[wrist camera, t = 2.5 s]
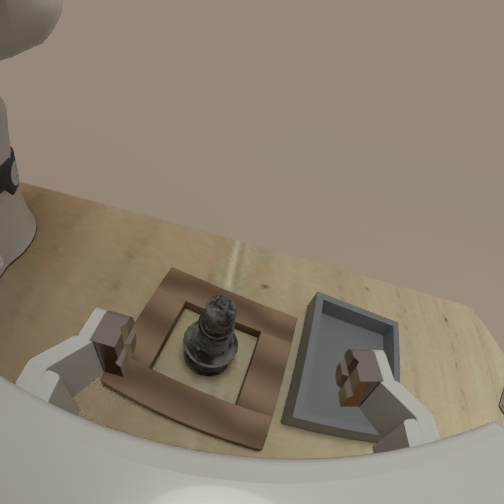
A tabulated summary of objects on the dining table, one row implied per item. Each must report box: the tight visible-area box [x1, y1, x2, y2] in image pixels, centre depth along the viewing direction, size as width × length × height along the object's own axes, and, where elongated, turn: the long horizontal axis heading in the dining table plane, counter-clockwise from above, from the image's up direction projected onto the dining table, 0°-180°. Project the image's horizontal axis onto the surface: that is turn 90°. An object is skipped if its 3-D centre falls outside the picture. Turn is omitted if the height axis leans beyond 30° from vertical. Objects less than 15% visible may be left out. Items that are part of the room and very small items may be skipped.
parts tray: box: [281, 292, 400, 443], centre depth 32 cm, size 18×14×4 cm
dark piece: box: [183, 295, 238, 376], centre depth 27 cm, size 6×6×12 cm
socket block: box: [100, 267, 297, 451], centre depth 31 cm, size 18×18×2 cm
